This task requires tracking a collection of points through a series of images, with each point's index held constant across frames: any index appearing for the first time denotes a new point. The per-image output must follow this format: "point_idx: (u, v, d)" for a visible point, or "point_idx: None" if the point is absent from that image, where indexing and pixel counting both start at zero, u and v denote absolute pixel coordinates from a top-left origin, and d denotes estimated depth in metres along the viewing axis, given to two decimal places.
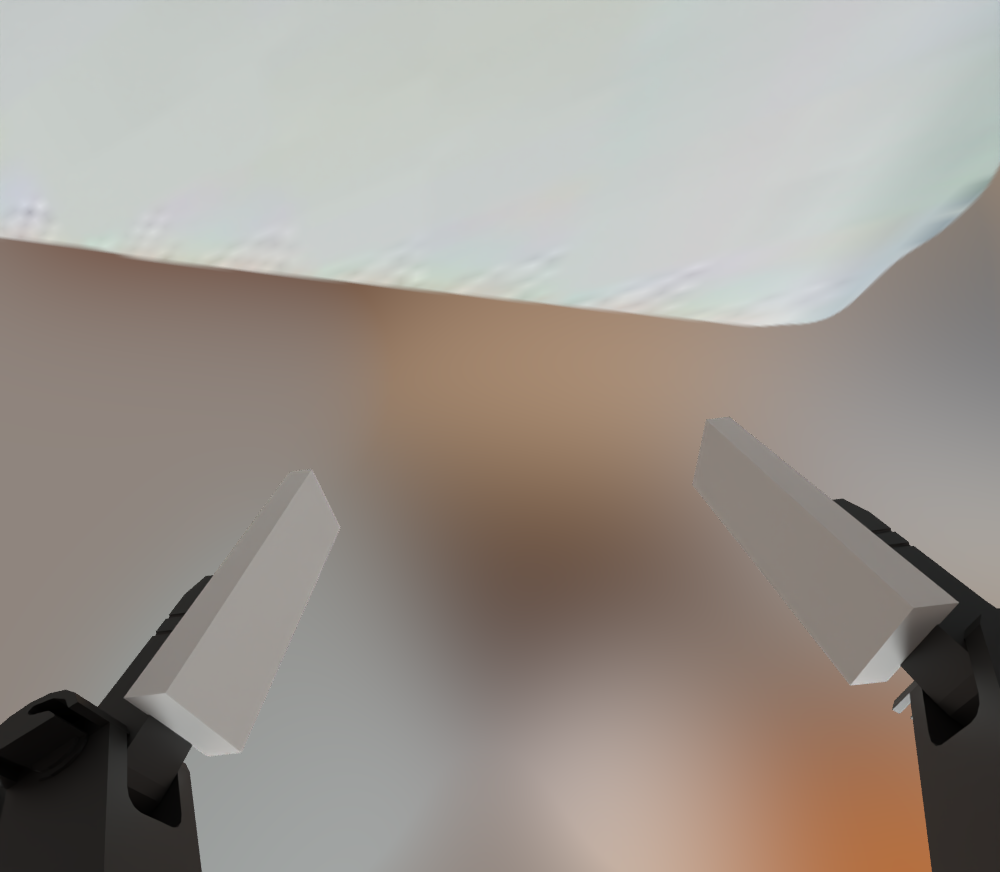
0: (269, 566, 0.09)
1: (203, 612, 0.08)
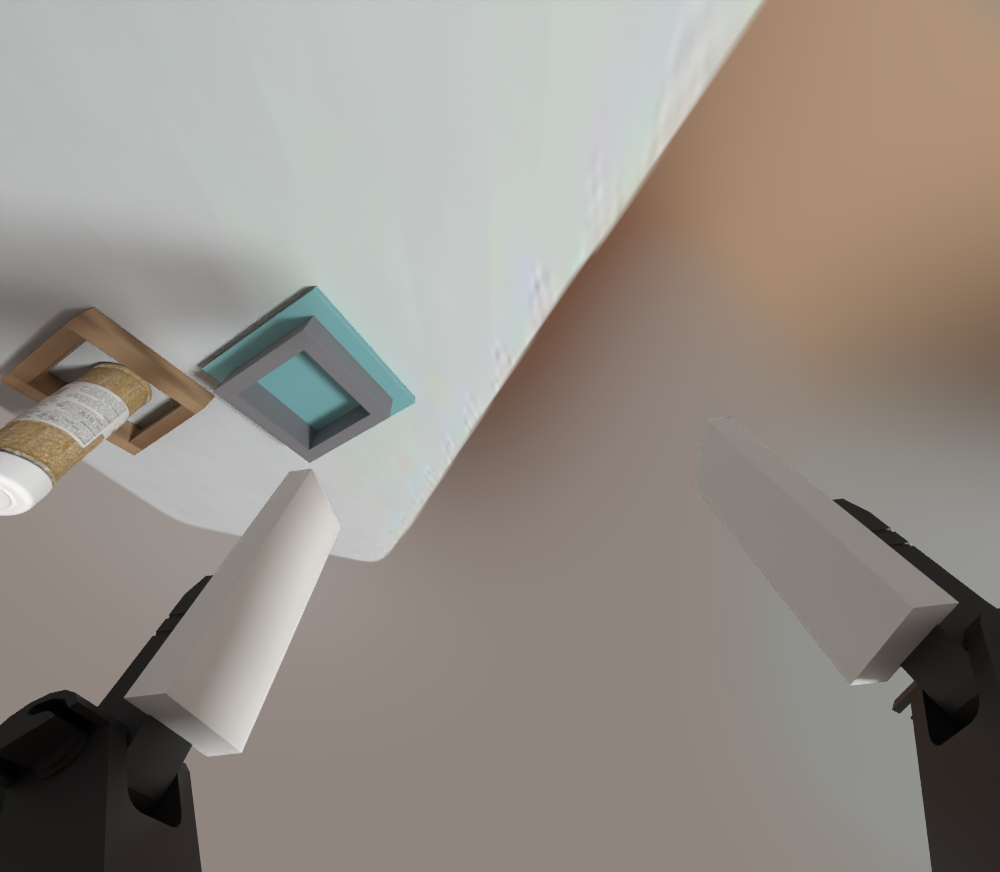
0: (269, 565, 0.09)
1: (203, 612, 0.08)
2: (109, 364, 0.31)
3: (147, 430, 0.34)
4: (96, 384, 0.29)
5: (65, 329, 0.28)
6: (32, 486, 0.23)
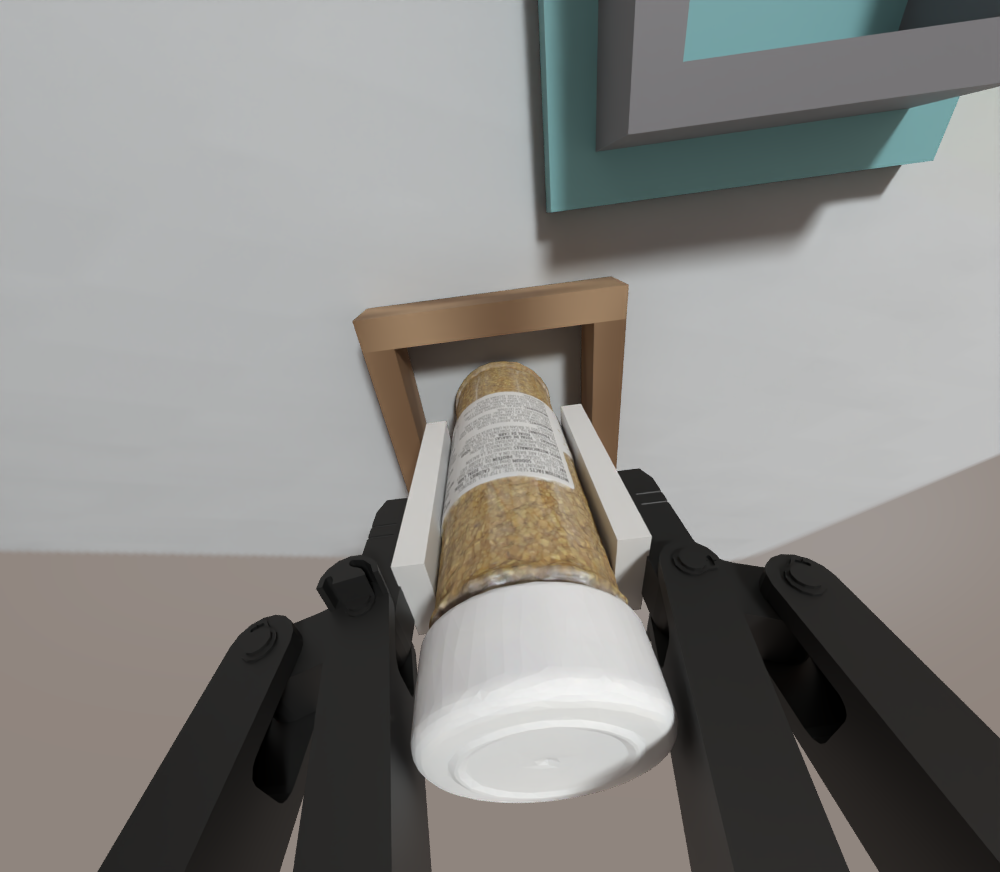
0: (441, 491, 0.11)
1: (418, 515, 0.09)
2: (462, 383, 0.16)
3: None
4: (474, 401, 0.13)
5: (371, 360, 0.14)
6: (621, 654, 0.06)
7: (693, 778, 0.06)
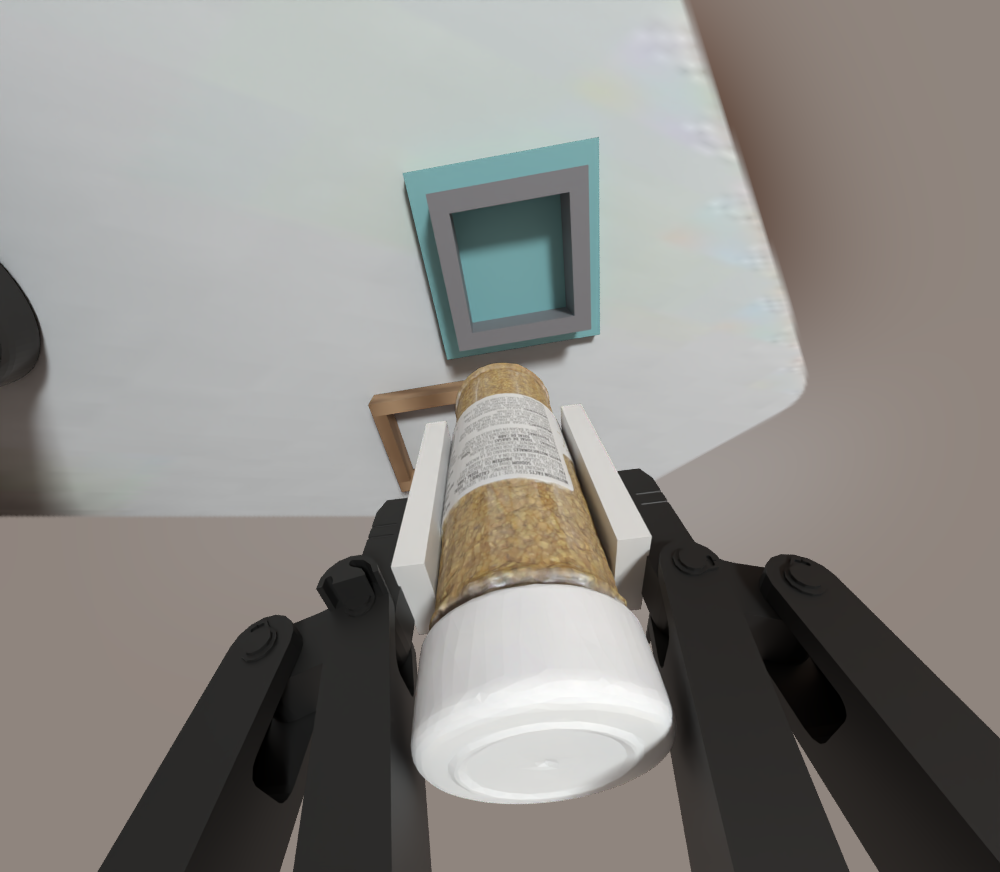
0: (441, 491, 0.11)
1: (418, 516, 0.09)
2: (462, 384, 0.16)
3: None
4: (474, 403, 0.13)
5: (376, 419, 0.32)
6: (620, 656, 0.06)
7: (693, 778, 0.06)
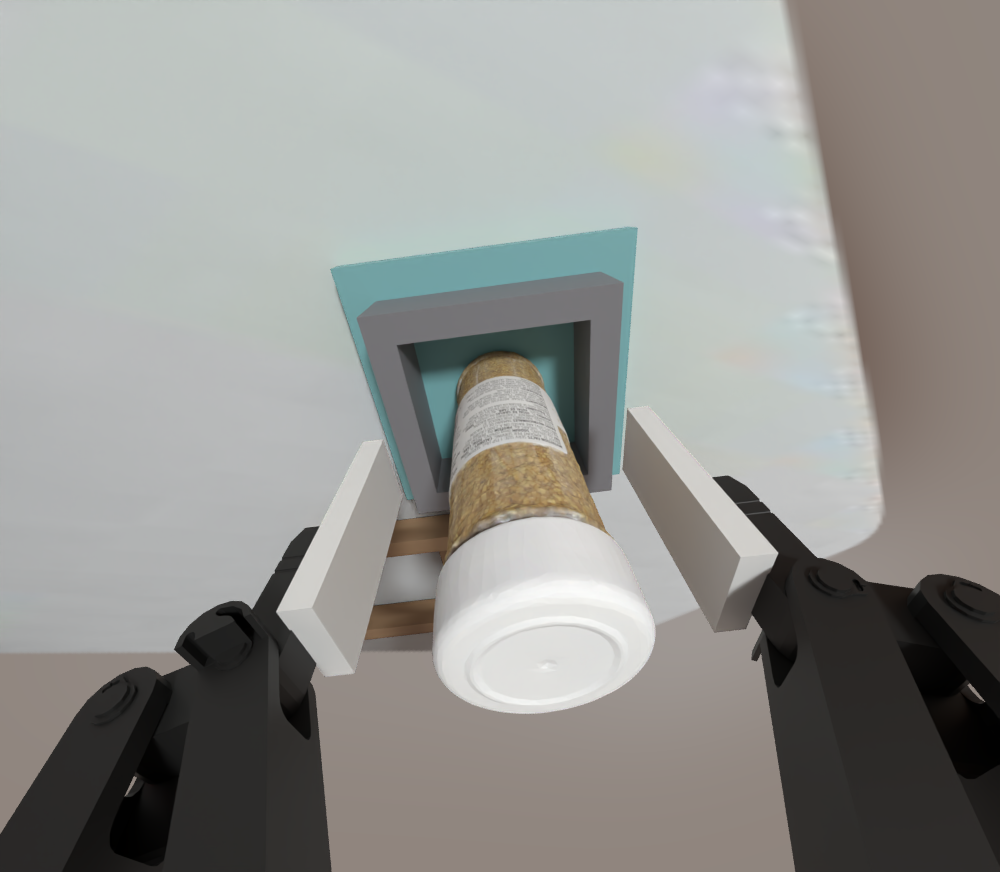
0: (362, 518, 0.10)
1: (323, 550, 0.09)
2: (463, 372, 0.17)
3: None
4: (475, 385, 0.15)
5: None
6: (606, 567, 0.07)
7: (818, 804, 0.05)
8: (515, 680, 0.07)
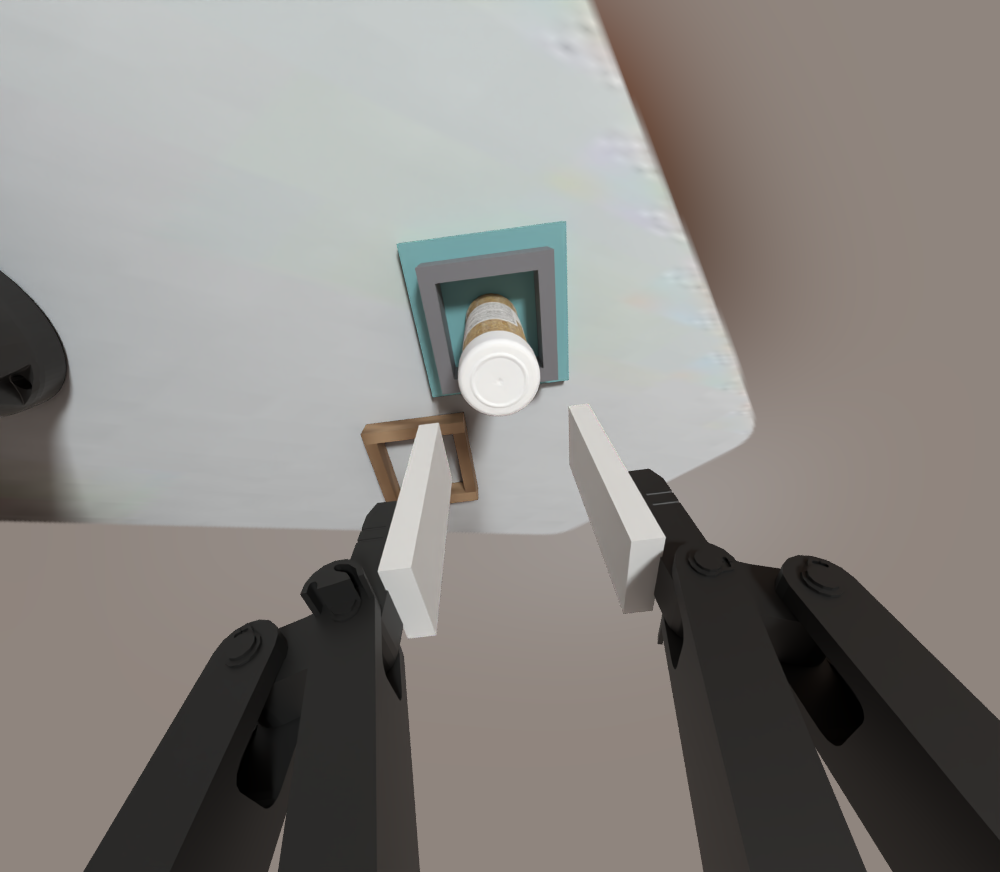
0: (432, 494, 0.11)
1: (407, 519, 0.09)
2: (469, 306, 0.30)
3: (462, 473, 0.38)
4: (476, 307, 0.27)
5: (367, 447, 0.36)
6: (519, 341, 0.19)
7: (707, 779, 0.05)
8: (488, 389, 0.20)
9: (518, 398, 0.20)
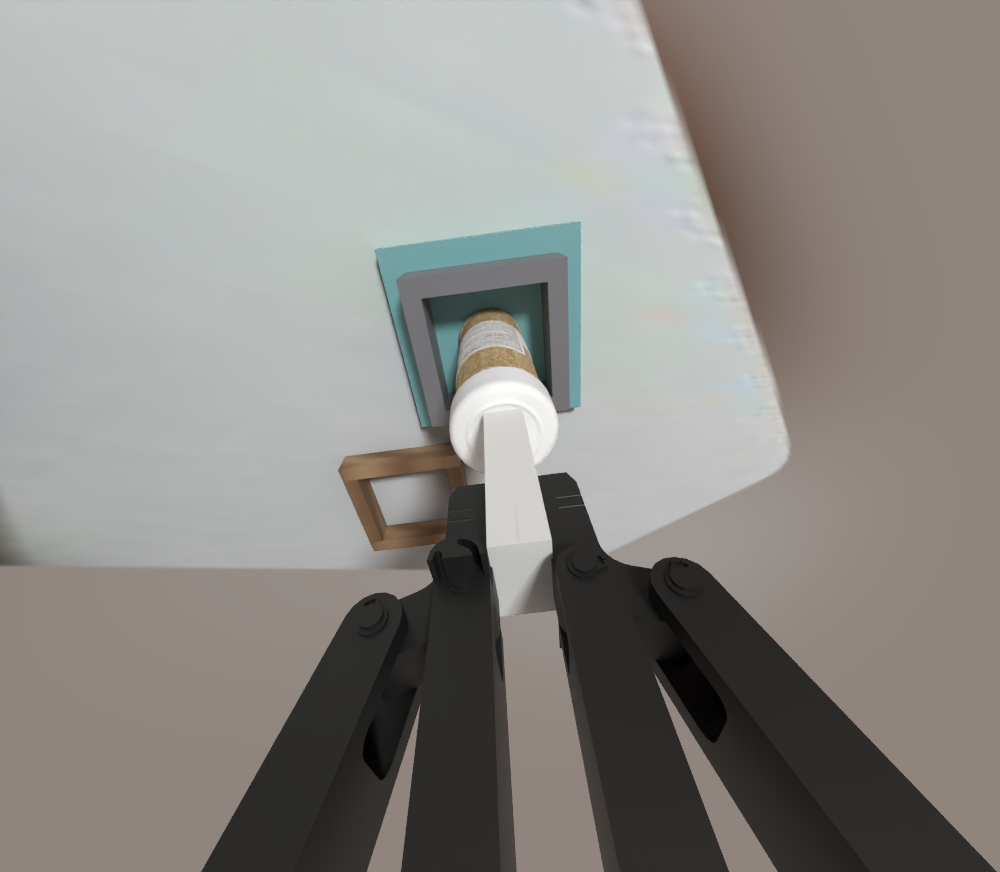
0: None
1: (500, 499, 0.10)
2: (464, 323, 0.25)
3: None
4: (472, 327, 0.22)
5: (346, 484, 0.31)
6: (532, 383, 0.14)
7: (595, 785, 0.06)
8: None
9: None
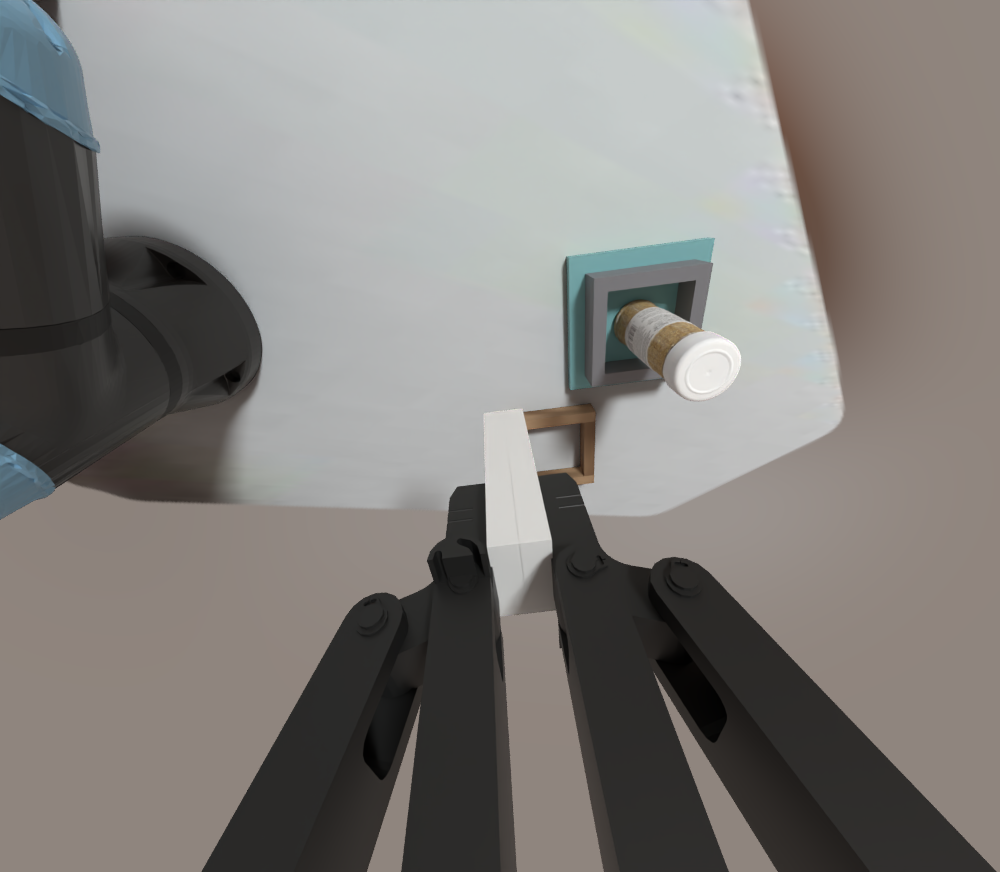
0: None
1: (501, 499, 0.10)
2: (621, 310, 0.34)
3: (585, 458, 0.43)
4: (639, 311, 0.32)
5: None
6: (728, 340, 0.24)
7: (595, 785, 0.06)
8: (697, 378, 0.24)
9: (719, 386, 0.25)
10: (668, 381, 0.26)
